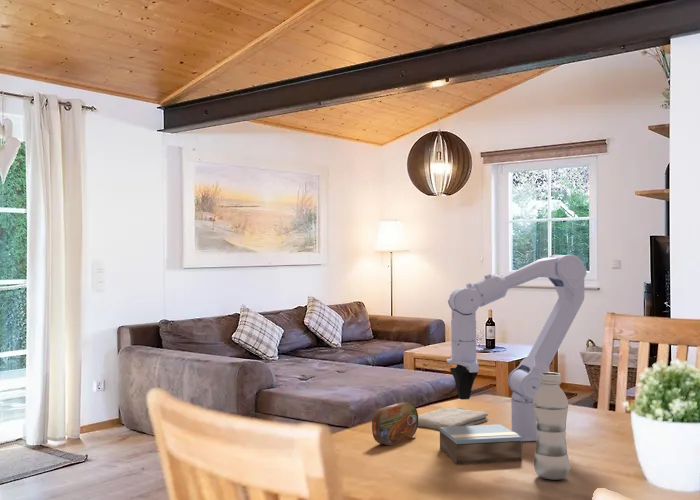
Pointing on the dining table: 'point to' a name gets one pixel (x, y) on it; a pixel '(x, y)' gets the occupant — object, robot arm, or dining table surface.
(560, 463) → the plastic bottle
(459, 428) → the lid
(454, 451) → the box
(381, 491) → the dining table surface
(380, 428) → the tin
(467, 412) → the washcloth
